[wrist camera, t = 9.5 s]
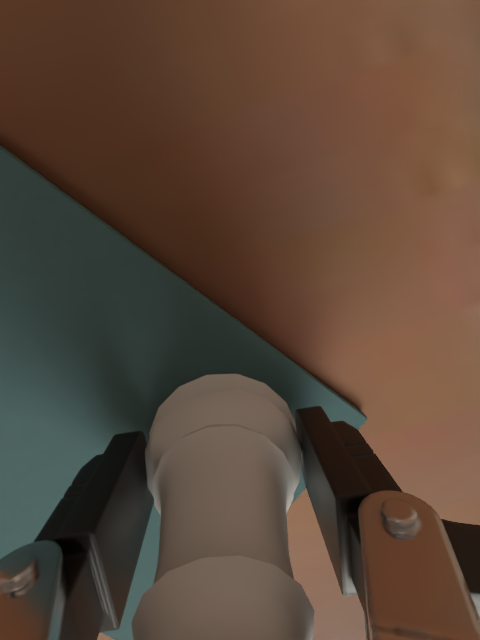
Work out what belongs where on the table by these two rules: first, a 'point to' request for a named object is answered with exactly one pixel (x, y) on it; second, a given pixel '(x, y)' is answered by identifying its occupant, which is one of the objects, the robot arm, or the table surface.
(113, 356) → the felt mat
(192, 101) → the table surface
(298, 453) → the rook chess piece
